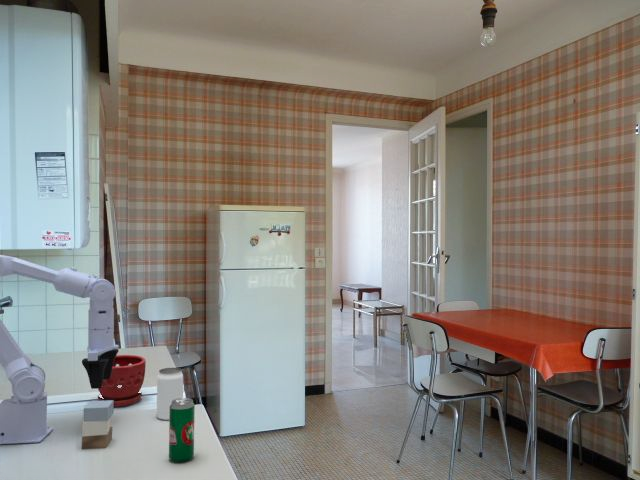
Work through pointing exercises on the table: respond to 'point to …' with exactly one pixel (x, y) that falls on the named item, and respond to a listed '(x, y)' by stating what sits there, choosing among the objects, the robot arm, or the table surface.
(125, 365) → the plant pot
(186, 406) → the soda can
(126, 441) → the table surface
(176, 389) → the can
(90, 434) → the cream block
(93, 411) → the slate block
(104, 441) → the walnut block
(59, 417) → the table surface
